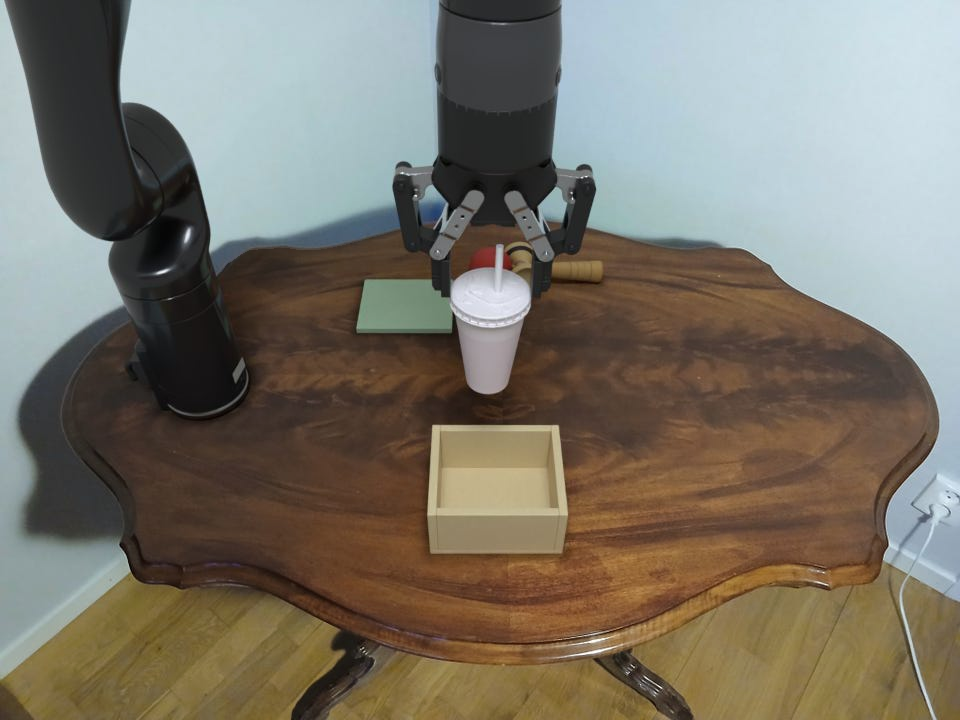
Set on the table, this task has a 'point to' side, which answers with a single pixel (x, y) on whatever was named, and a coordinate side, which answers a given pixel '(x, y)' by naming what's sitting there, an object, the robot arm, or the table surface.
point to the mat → (403, 307)
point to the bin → (496, 490)
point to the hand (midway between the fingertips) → (490, 291)
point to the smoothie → (489, 322)
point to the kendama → (520, 260)
